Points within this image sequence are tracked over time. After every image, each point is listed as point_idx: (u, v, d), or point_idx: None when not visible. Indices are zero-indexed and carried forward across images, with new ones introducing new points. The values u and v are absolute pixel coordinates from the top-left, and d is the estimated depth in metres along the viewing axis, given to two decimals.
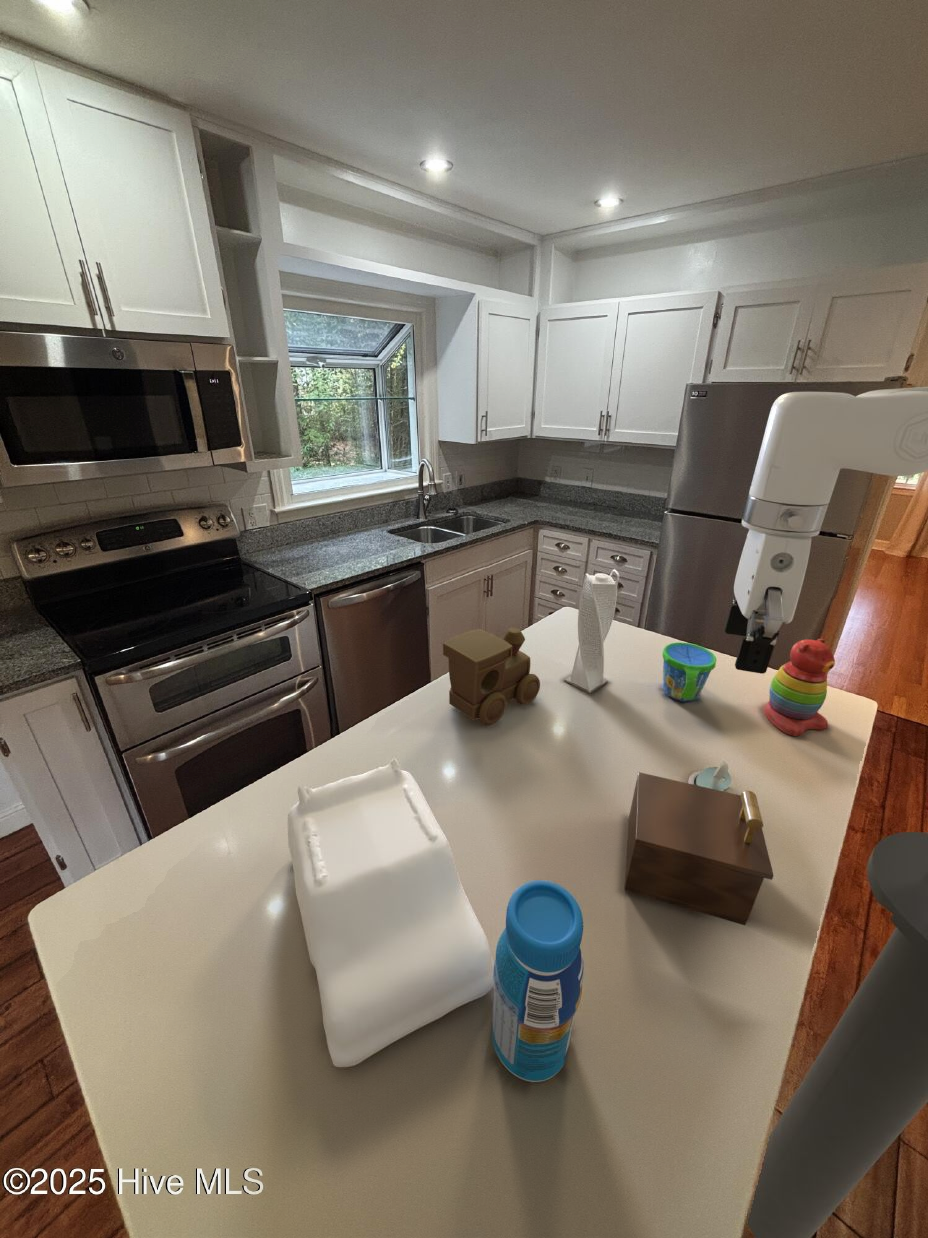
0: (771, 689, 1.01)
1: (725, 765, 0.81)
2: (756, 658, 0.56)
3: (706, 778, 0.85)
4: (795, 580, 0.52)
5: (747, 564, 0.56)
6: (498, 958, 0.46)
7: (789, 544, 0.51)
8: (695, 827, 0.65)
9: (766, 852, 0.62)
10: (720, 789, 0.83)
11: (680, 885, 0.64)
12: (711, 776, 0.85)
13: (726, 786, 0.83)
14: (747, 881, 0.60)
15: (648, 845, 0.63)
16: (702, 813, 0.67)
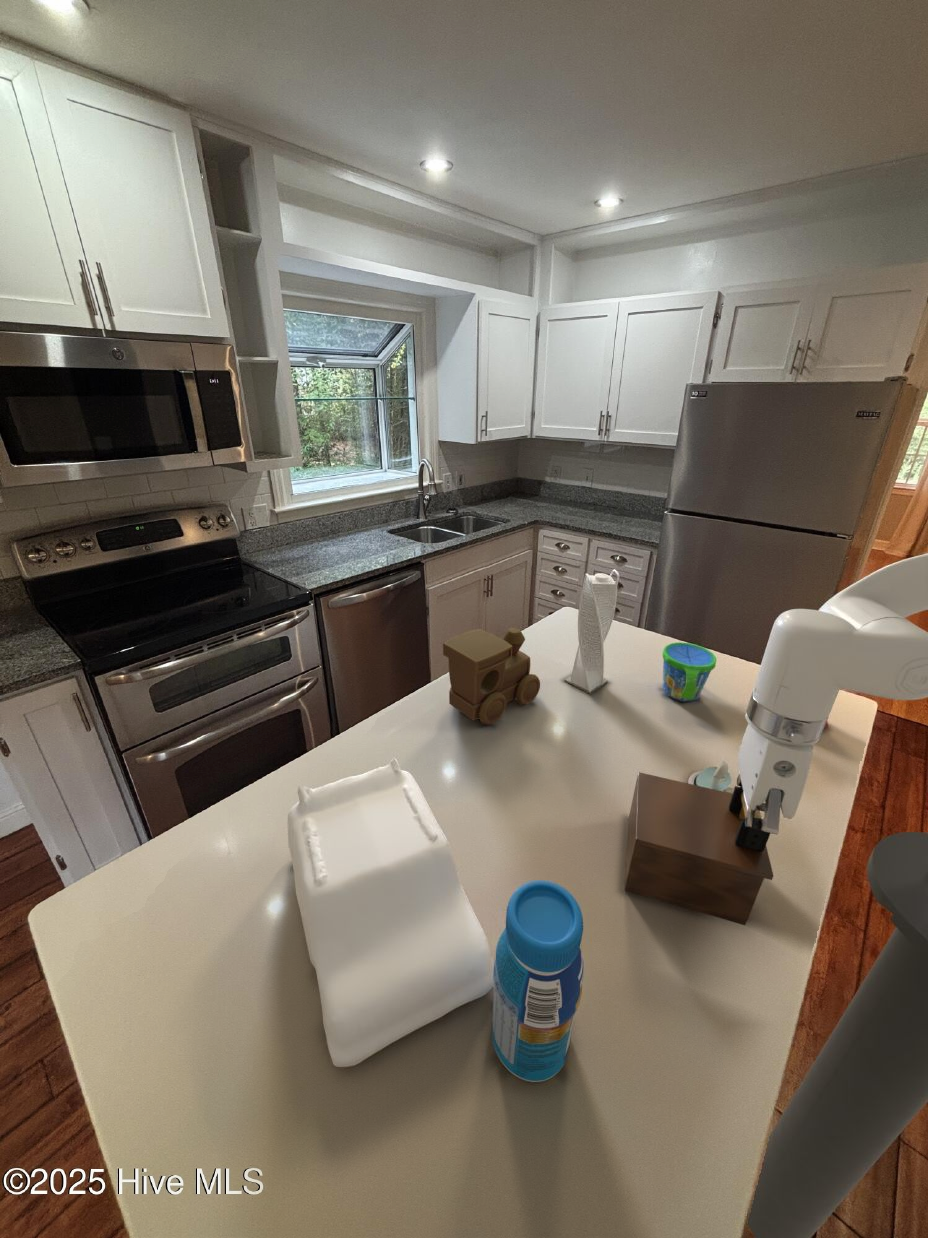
0: None
1: (725, 765, 0.81)
2: (755, 841, 0.60)
3: (706, 778, 0.85)
4: (797, 785, 0.55)
5: (751, 756, 0.59)
6: (498, 958, 0.46)
7: (791, 754, 0.54)
8: (695, 827, 0.65)
9: (766, 852, 0.62)
10: (720, 789, 0.83)
11: (680, 885, 0.64)
12: (711, 776, 0.85)
13: (726, 786, 0.83)
14: (747, 881, 0.60)
15: (648, 845, 0.63)
16: (702, 813, 0.67)
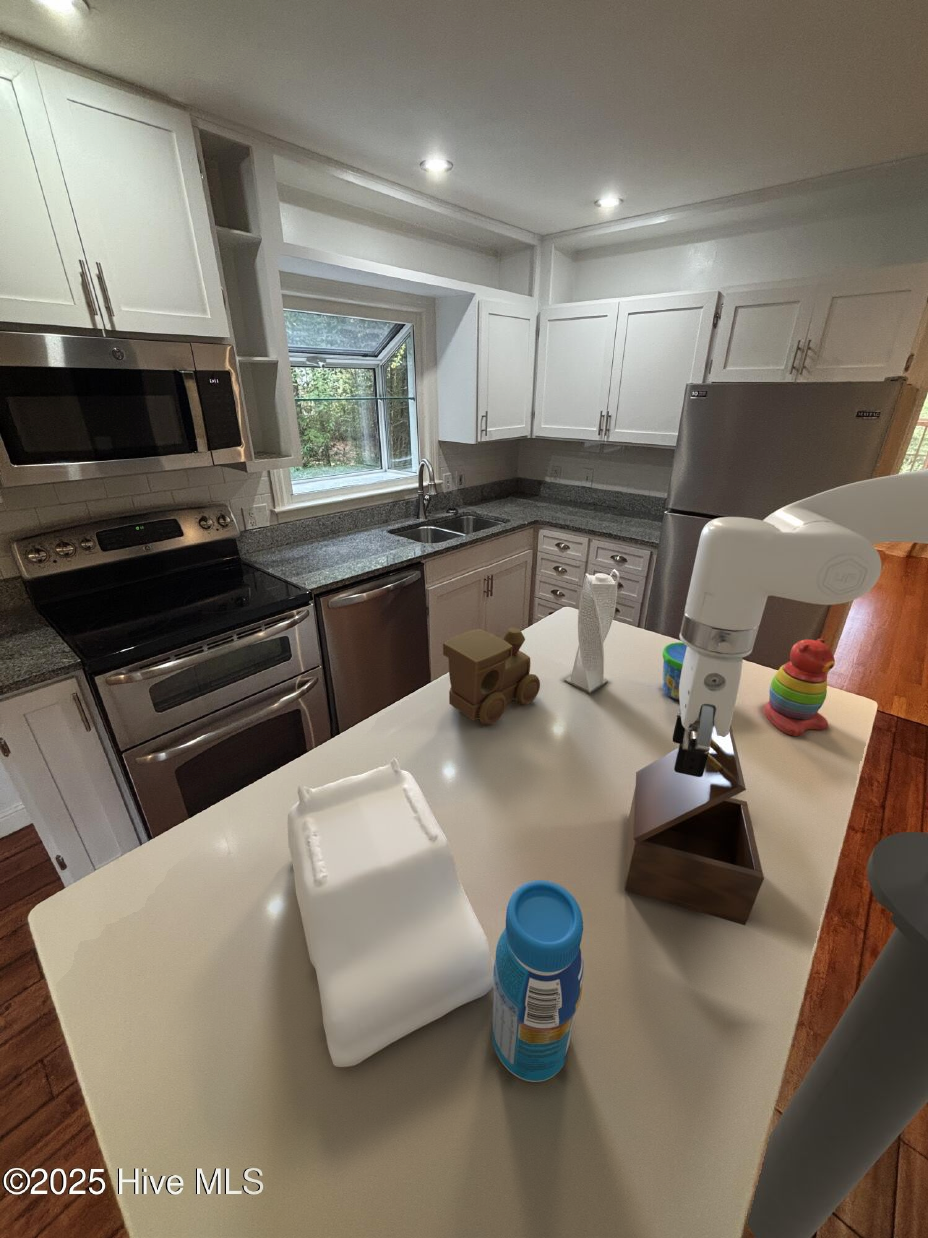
0: (771, 689, 1.01)
1: None
2: (692, 765, 0.59)
3: None
4: (728, 699, 0.53)
5: (685, 676, 0.57)
6: (498, 958, 0.46)
7: (720, 666, 0.52)
8: (678, 789, 0.63)
9: (735, 766, 0.58)
10: None
11: (680, 885, 0.64)
12: None
13: None
14: (747, 881, 0.60)
15: (645, 837, 0.63)
16: None
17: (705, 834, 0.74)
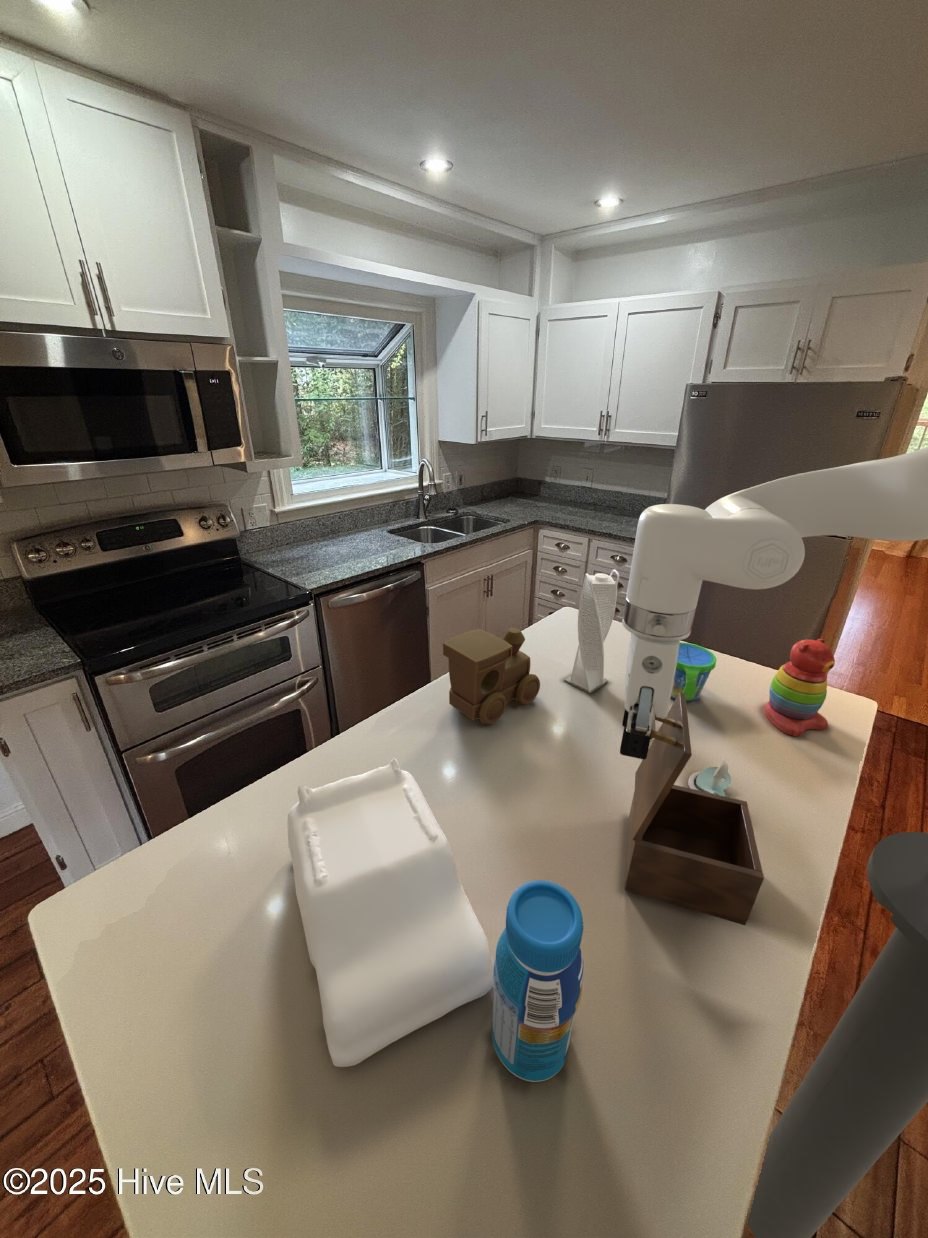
0: (771, 689, 1.01)
1: (725, 765, 0.81)
2: (635, 747, 0.61)
3: (706, 778, 0.85)
4: (665, 681, 0.55)
5: (627, 659, 0.59)
6: (498, 958, 0.46)
7: (657, 649, 0.54)
8: (654, 776, 0.64)
9: (682, 735, 0.59)
10: (720, 789, 0.83)
11: (680, 885, 0.64)
12: (711, 776, 0.85)
13: (726, 786, 0.83)
14: (747, 881, 0.60)
15: (640, 833, 0.63)
16: (658, 755, 0.66)
17: (705, 834, 0.74)
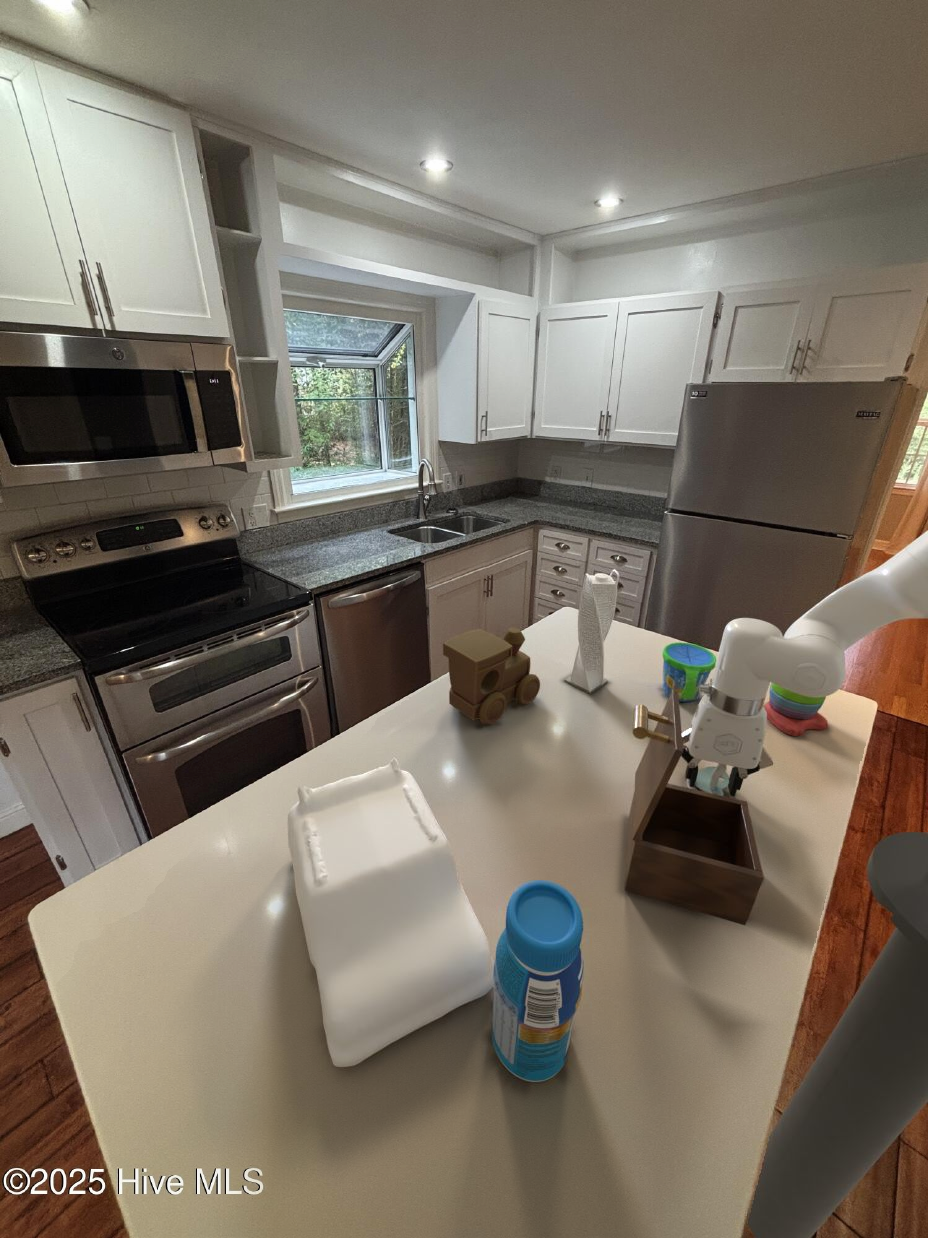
0: (771, 689, 1.01)
1: (723, 764, 0.81)
2: (686, 771, 0.84)
3: (704, 778, 0.85)
4: (694, 726, 0.79)
5: None
6: (498, 958, 0.46)
7: (701, 703, 0.79)
8: (651, 775, 0.64)
9: (674, 732, 0.59)
10: (718, 789, 0.83)
11: (680, 885, 0.64)
12: (709, 776, 0.85)
13: (724, 786, 0.83)
14: (747, 881, 0.60)
15: (640, 833, 0.63)
16: (654, 754, 0.66)
17: (705, 834, 0.74)
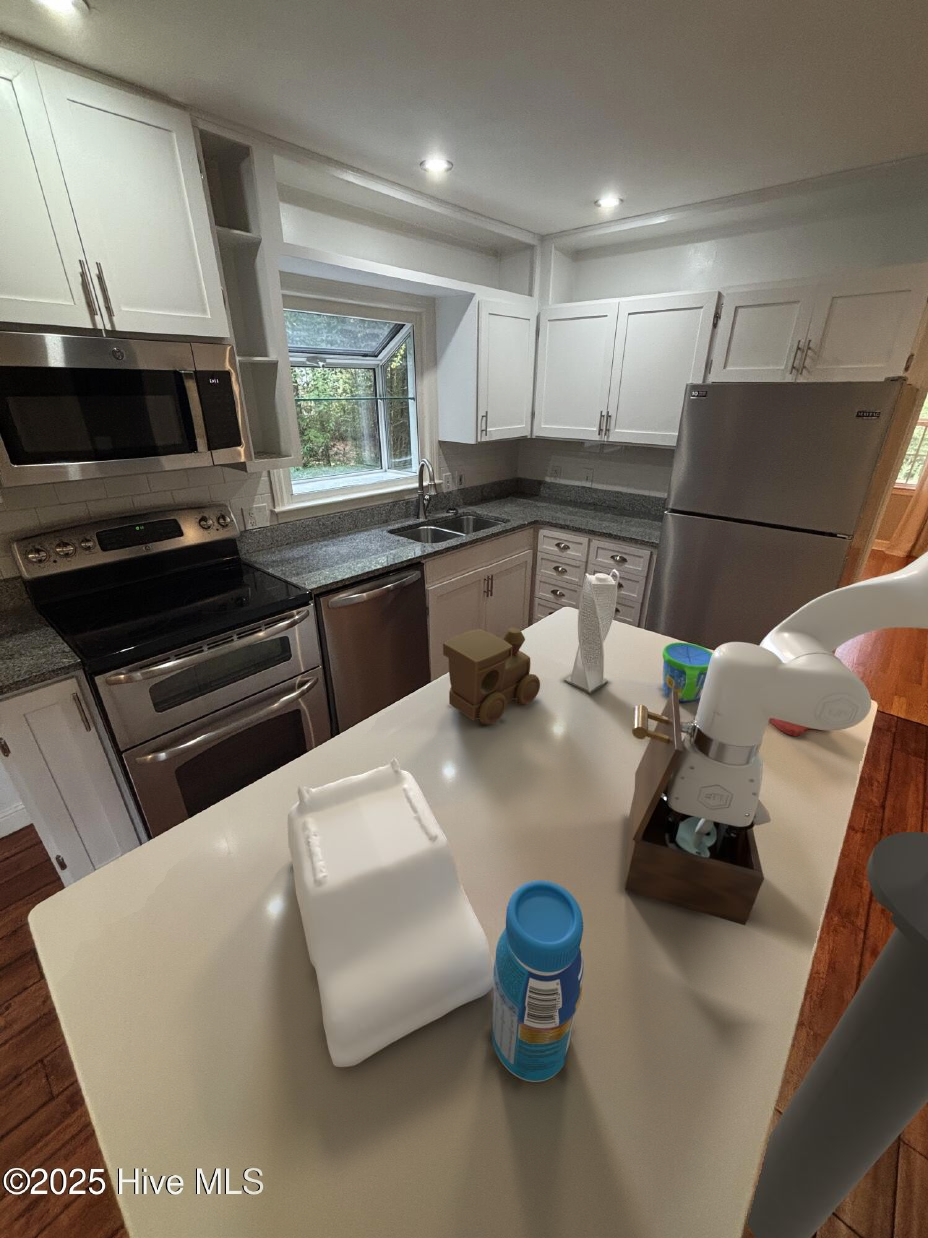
0: None
1: None
2: (666, 823, 0.70)
3: (687, 831, 0.70)
4: (674, 773, 0.64)
5: None
6: (498, 958, 0.46)
7: (682, 745, 0.64)
8: (651, 775, 0.64)
9: (673, 732, 0.59)
10: (704, 846, 0.68)
11: (680, 885, 0.64)
12: (693, 829, 0.71)
13: (711, 842, 0.69)
14: (747, 881, 0.60)
15: (640, 833, 0.63)
16: (654, 754, 0.66)
17: (705, 834, 0.74)
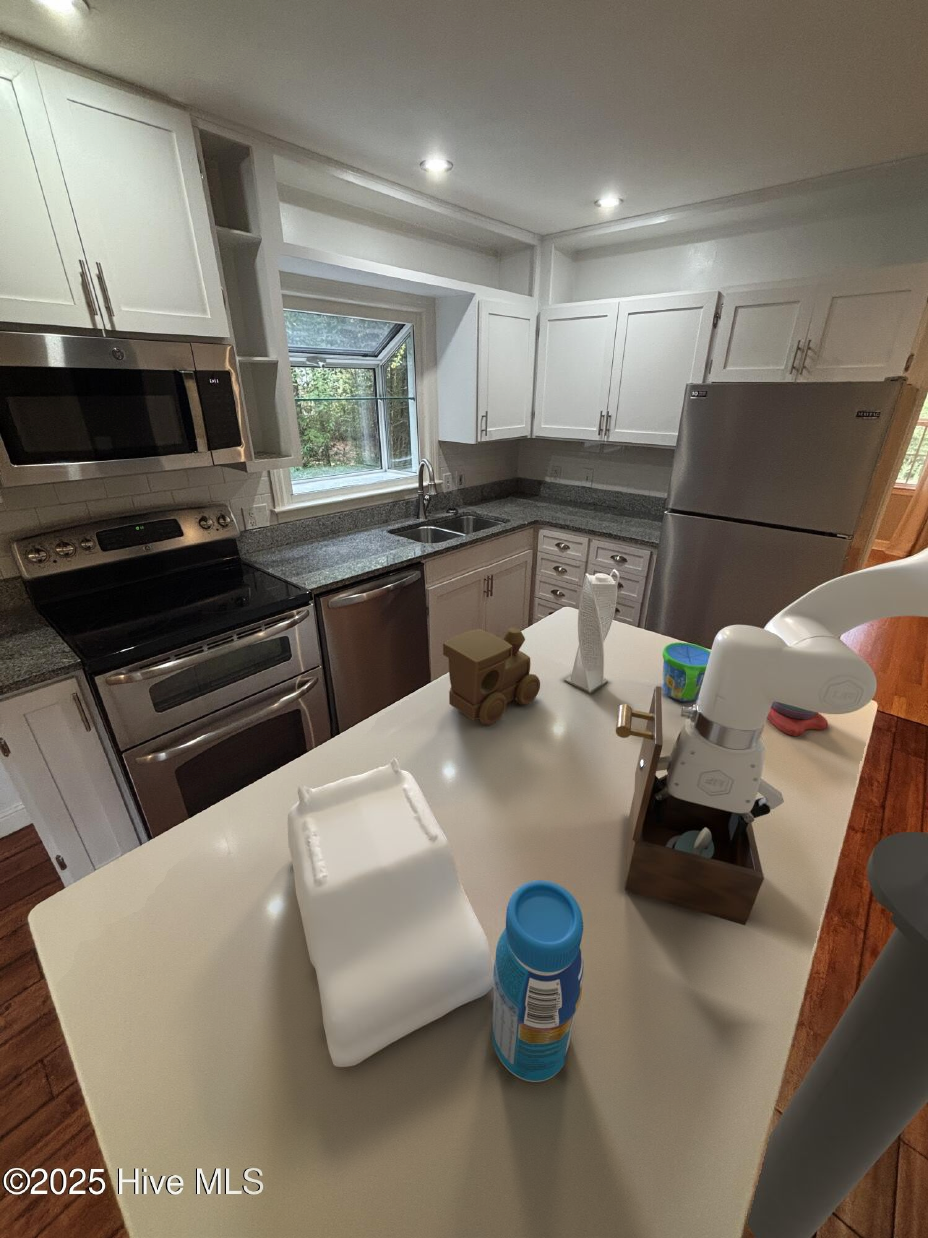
0: None
1: (707, 833, 0.67)
2: (653, 803, 0.69)
3: (685, 846, 0.71)
4: (674, 758, 0.63)
5: None
6: (498, 958, 0.46)
7: (683, 729, 0.63)
8: (642, 773, 0.64)
9: (654, 728, 0.60)
10: None
11: (680, 885, 0.64)
12: (691, 843, 0.72)
13: (709, 856, 0.70)
14: (747, 881, 0.60)
15: (638, 832, 0.63)
16: (644, 752, 0.66)
17: None
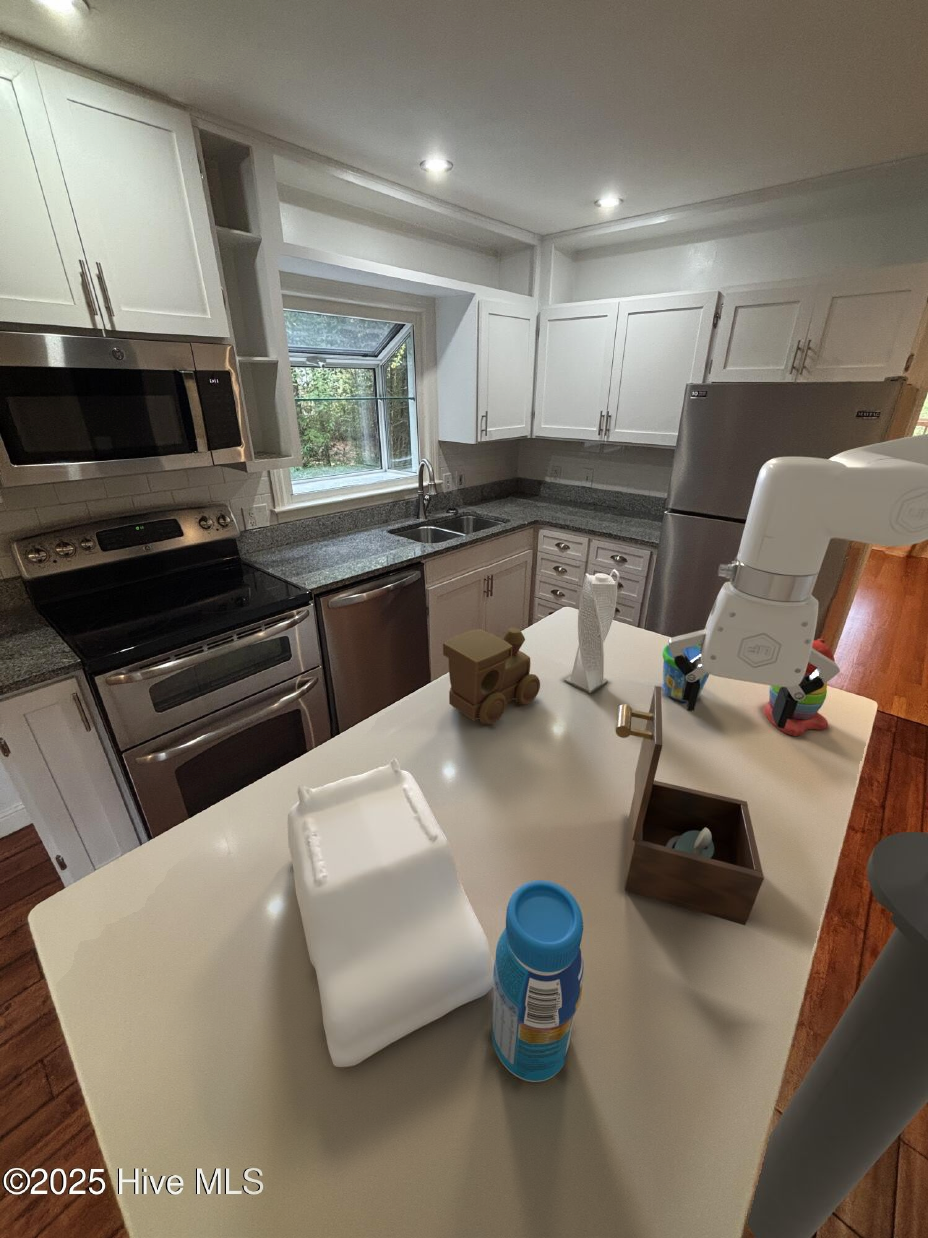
0: (771, 689, 1.01)
1: (708, 833, 0.67)
2: (683, 689, 0.61)
3: (685, 846, 0.71)
4: (710, 627, 0.55)
5: None
6: (498, 958, 0.46)
7: (720, 593, 0.55)
8: (642, 773, 0.64)
9: (654, 728, 0.60)
10: None
11: (680, 885, 0.64)
12: (691, 843, 0.72)
13: (709, 856, 0.70)
14: (747, 881, 0.60)
15: (638, 832, 0.63)
16: (644, 752, 0.66)
17: None
